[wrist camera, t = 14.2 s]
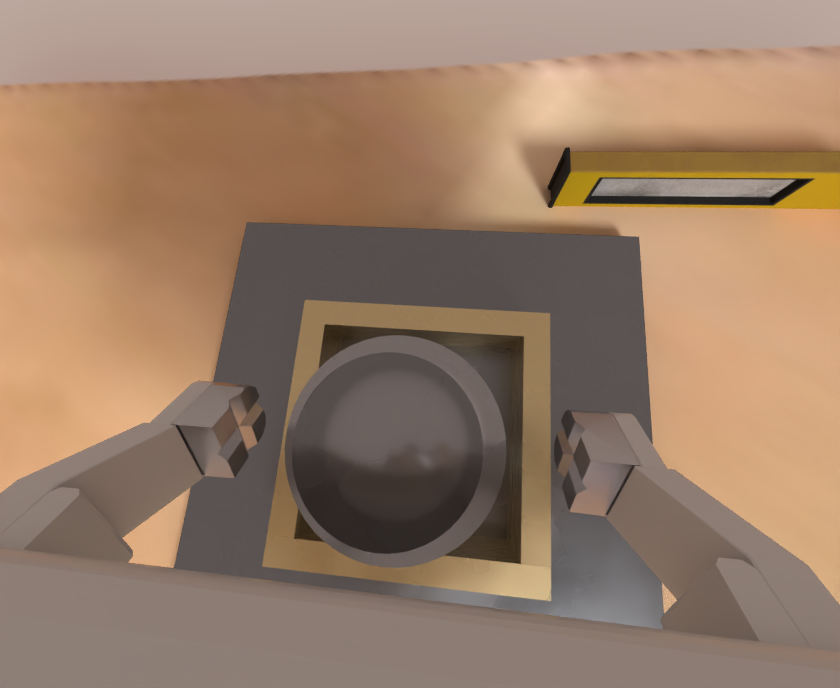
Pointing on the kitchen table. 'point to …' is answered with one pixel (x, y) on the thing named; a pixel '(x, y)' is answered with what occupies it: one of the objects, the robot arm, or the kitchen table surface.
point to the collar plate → (493, 360)
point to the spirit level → (697, 179)
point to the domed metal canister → (395, 451)
